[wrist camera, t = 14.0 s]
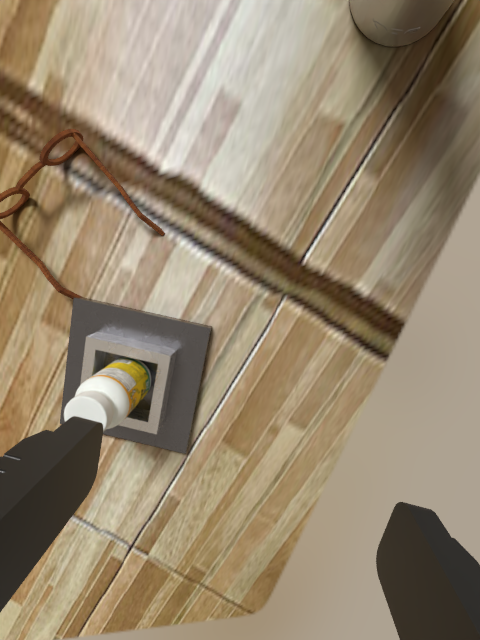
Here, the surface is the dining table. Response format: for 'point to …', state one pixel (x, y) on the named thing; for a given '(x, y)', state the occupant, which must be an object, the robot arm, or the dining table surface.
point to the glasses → (25, 195)
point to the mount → (155, 352)
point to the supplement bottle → (111, 393)
